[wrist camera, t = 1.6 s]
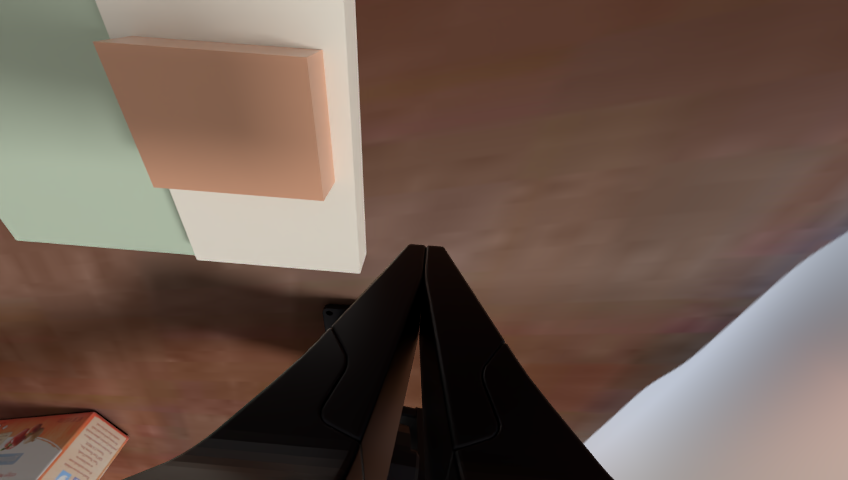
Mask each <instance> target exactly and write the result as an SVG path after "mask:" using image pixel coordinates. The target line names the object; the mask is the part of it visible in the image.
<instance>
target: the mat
mask: <svg viewBox="0 0 848 480" xmlns="http://www.w3.org/2000/svg"><path fill="white" fill-rule="evenodd" d="M106 39H110V37H109V35H108V32H107V30H106V27H105V24H104V22H103V19H102V17H101V14H100V12H99V9H98V7H97V4H96V2H95V0H0V219H1V220H2V221H3V223H4V224H5V226H6V227H7V228H8V230H9V231H10V232H11V234H12V235H13V236H14V238H15V239H16V240H19V241H31V242H43V243H55V244H67V245H79V246H91V247H103V248H115V249H127V250H139V251H151V252H163V253H175V254H187V255H195V254H194V251H193V248H192V246H191V243H190V241H189V238H188V236H187V233H186V231H185V228H184V226H183V223H182V220H181V218H180V215H179V213H178V210H177V208H176V205H175V203H174V200H173V198H172V195H171V192H170V190H169V189H167V188H155V187H153V184H152V182H151V180H150V177H149V175H148V173H147V170H146V168H145V165H144V163H143V161H142V158H141V156H140V153H139V151H138V149H137V146H136V144H135V142H134V139H133V137H132V134H131V132H130V130H129V127H128V125H127V122H126V120H125V118H124V115H123V113H122V111H121V108H120V106H119V103H118V101H117V99H116V96H115V94H114V91H113V89H112V87H111V84H110V82H109V80H108V77H107V75H106V72H105V70H104V68H103V65H102V63H101V60H100V58H99V56H98V53H97V51H96V49H95V46H94V44H93V41H99V40H106Z"/></svg>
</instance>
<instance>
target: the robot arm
mask: <svg viewBox="0 0 848 480" xmlns="http://www.w3.org/2000/svg"><path fill="white" fill-rule="evenodd" d="M420 315H421V317H420ZM323 318H324V325H325V331H326V332H325V333H324V334H323V335H322V336H321V338H320V339H319V340H318V341H317V342H316V343H315V344H314V345H313V346H312V347H311V348H310V349H309V350H308V351H307V352H306V353H305V354H304V355H303V356H302V357H301V358H299V359H298V360H297V361H296V362H295V363H294V364H293V365H292V366H290V367H289V368H288V369H287V370H286V371H285V372H284V373H283V374H281V375H280V376H279V377H278V378H277V379H276V380H275V381H273V382H272V383H271V384H270V385H269V386H268V387H266V388H265V389H264V390H263V391H262V392H260V393H259V394H258V395H257V396H256V397H255V398H253V399H252V400H251V401H250V402H249V403H247V404H246V405H245V406H244V407H243V408H242V409H240V410H239V411H238V412H237V413H236V414H234V415H233V416H232V417H231V418H230V419H229V420H227V421H226V422H225V423H224V424H223V425H222V426H220V427H219V428H218V429H217V430H215V431H214V432H213V433H212V434H210V435H209V436H208V437H207V438H205V439H204V440H202V441H201V442H200V443H198V444H197V445H195V446H194V447H192V448H191V449H189V450H187V451H186V452H184V453H183V454H181V455H179V456H177V457H175V458H173V459H171V460H170V461H167V462H165V463H163V464H160V465H158V466H156V467H153V468H151V469H148V470H146V471H143V472H140V473H138V474H135V475H133V476H130V477H128V478H125V479H123V480H614V479H613V478H612V477H611V476H610V475H609V474H608V473H607V472H606V471H605V469H604V468H603V467H602V466H601V465H600V464H599V462H598V461H597V460H596V459H595V458H594V456H593V455H592V454H591V453H590V452H589V450H588V449H587V448H586V447H585V445H584V444H583V443H582V442H581V441H580V439H579V438H578V437H577V436H576V435H575V433H574V432H573V431H572V430H571V428H570V427H569V426H568V425H567V424H566V422H565V421H564V420H563V419H562V418H561V416H560V415H559V414H558V413H557V411H556V410H555V409H554V408H553V407H552V405H551V404H550V403H549V402H548V400H547V399H546V398H545V397H544V395H543V394H542V393H541V392H540V390H539V389H538V388H537V386H536V385H535V384H534V383H533V381H532V380H531V379H530V378H529V376H528V375H527V373H526V372H525V370H524V369H523V367H522V366H521V365H520V363H519V362H518V360H517V359H516V357H515V356H514V354H513V353H512V351H511V350H510V348H509V346H508V345H507V344H506V343H505V341H504V339H503V338H502V336H501V334H500V333H499V331H498V330H497V328H496V327H495V325H494V324H493V322H492V321H491V319H490V318H489V316H488V314H487V313H486V311H485V310H484V308H483V307H482V305H481V304H480V302H479V301H478V299H477V298H476V296H475V294H474V293H473V291H472V290H471V288H470V287H469V285H468V284H467V282H466V281H465V279H464V278H463V276H462V275H461V273H460V271H459V270H458V268H457V267H456V265H455V264H454V262H453V261H452V259H451V258H450V256H449V255H448V253H447V251H446V250H445V248H443V247H440V246H427V247H425V246H424V245H416V244H409V245H408V246H407V247H406V248H405V249H404V250H403V251H402V252H401V253H400V254H399V255H398V256H397V257H396V258H395V260H394V261H393V262H392V263H391V264H390V265H389V266H388V267H387V268H386V269H385V270H384V271H383V272H382V273H381V274H380V275H379V276H378V277H377V279H376V280H375V281H374V282H373V283H372V284H371V285H370V286H369V287H368V288H367V289H366V290H365V291H364V292H363V293H362V294H361V295H360V297H359V298H358V299H357V300H356V301H355V302H354V303H353V304H352V305H351V306H345V305H333V304H328V305H326V306H325V307H324V309H323ZM419 327H420V332H419ZM418 335H419V345H420V367H421V388H422V408H417V407H416V408H410V407H406V406H403V404H404V400H405V395H406V391H407V386H408V382H409V377H410V372H411V368H412V363H413V359H414V354H415V350H416V345H417V340H418Z"/></svg>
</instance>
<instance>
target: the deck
mask: <svg viewBox="0 0 848 480" xmlns="http://www.w3.org/2000/svg"><path fill="white" fill-rule="evenodd" d="M95 2H96V4H97V7H98V9H99V12H100V14H101V17H102V19H103V22H104V24H105V27H106V30H107V32H108V35H109V37H110V39H113V38H120V37H127V36H141V37H155V38H169V39H182V40H196V41H210V42H223V43H237V44H251V45H264V46H278V47H292V48H305V49H319V50H323V59H324V69H325V80H326V91H327V101H328V112H329V122H330V133H331V144H332V154H333V165H334V175H335V183H334V185H333V186H332V188H331V190H330V191H329V193H328V195H327V196H326V198H325V200H324V201H317V200H304V199H292V198H279V197H267V196H254V195H242V194H229V193H217V192H205V191H192V190H180V189H169V190H170V192H171V195H172V198H173V200H174V203H175V205H176V208H177V210H178V213H179V215H180V218H181V220H182V223H183V226H184V228H185V231H186V233H187V236H188V238H189V241H190V243H191V246H192V248H193V251H194V254H195V256H196V259H197V260H203V261H215V262H227V263H239V264H251V265H263V266H275V267H287V268H299V269H311V270H323V271H335V272H347V273H359V274H360V272H361V269H362V266H363V263H364V260H365V256H366V234H365V212H364V189H363V167H362V144H361V122H360V100H359V77H358V55H357V32H356V10H355V0H95Z"/></svg>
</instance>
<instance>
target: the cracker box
mask: <svg viewBox="0 0 848 480" xmlns="http://www.w3.org/2000/svg"><path fill="white" fill-rule="evenodd" d="M128 439H129V437H128V436H126V435H125V434H124V433H122V432H121V431H120V430H118V429H117V428H116V427H114V426H113V425H112V424H110V423H109V422H108V421H106V420H105V419H104V418H103V417H101V416H100V415H99V414H97V413H96V412H86V413H75V414H64V415H52V416H42V417H30V418H19V419H7V420H0V480H99V479H100V478H101V476H102V475H103V474H104V472H105V471H106V470H107V468H108V467H109V465H110V464H111V463H112V461H113V460H114V459H115V457H116V456H117V454H118V453H119V452H120V450H121V449H122V447H123V446H124V445H125V443H126V442H127V441H128Z"/></svg>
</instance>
